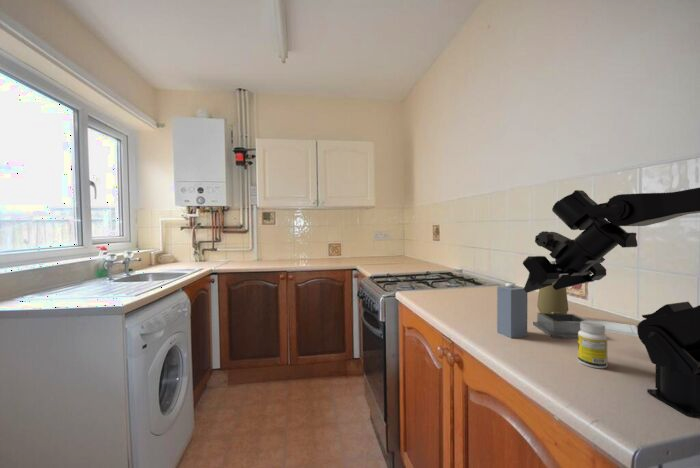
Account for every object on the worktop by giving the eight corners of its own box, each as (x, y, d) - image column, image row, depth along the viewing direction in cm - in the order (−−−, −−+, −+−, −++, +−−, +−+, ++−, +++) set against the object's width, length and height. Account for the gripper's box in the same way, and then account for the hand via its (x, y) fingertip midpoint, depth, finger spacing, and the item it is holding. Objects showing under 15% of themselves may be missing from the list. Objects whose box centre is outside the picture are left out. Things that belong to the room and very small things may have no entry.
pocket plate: (599, 339, 74) (599, 323, 74) (552, 337, 75) (552, 321, 75) (574, 326, 84) (574, 311, 84) (533, 324, 86) (533, 310, 86)
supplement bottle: (583, 356, 64) (584, 318, 64) (611, 365, 60) (611, 324, 60) (573, 362, 61) (573, 322, 61) (601, 371, 57) (601, 328, 57)
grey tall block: (527, 335, 77) (527, 285, 77) (510, 338, 75) (511, 286, 75) (512, 330, 81) (513, 282, 81) (497, 332, 79) (497, 283, 79)
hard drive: (578, 323, 83) (639, 332, 76) (578, 316, 90) (635, 324, 82) (578, 329, 83) (639, 339, 76) (578, 322, 90) (635, 330, 82)
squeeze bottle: (531, 317, 93) (531, 260, 93) (547, 313, 96) (547, 259, 96) (558, 324, 86) (558, 263, 85) (574, 320, 89) (574, 261, 89)
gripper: (591, 219, 68) (546, 262, 79) (530, 219, 62) (490, 264, 73) (633, 256, 60) (577, 297, 71) (567, 259, 55) (517, 303, 65)
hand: (540, 289), depth 70 cm, fingers open, 9 cm apart
